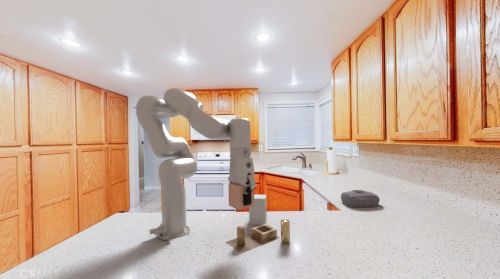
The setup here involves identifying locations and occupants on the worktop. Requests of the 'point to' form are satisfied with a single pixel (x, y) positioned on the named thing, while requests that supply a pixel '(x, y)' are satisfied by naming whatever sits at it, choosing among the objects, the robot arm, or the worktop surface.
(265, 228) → the board
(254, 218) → the supplement box
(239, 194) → the salmon pink cube
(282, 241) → the peg
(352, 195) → the small grey backpack
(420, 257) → the worktop surface
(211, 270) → the worktop surface
